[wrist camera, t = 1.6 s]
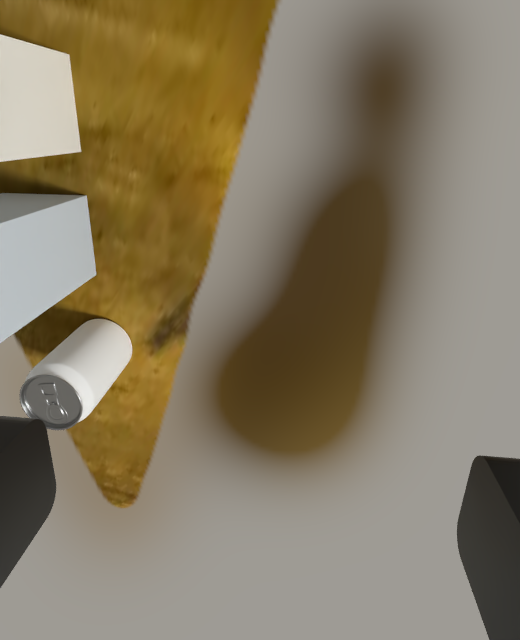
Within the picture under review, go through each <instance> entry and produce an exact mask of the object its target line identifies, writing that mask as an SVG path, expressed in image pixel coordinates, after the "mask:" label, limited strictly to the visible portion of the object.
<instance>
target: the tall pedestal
mask: <svg viewBox="0 0 520 640" xmlns="http://www.w3.org/2000/svg"><path fill="white" fill-rule="evenodd" d="M75 152H81V146H80V138H79V130H78V122H77V114H76V106H75V98H74V90H73V82H72V74H71V66H70V58H69V54H65V53H62V52H59V51H55V50H52V49H48V48H45V47H42V46H38V45H35V44H31V43H28V42H24V41H21V40H18V39H14V38H11V37H7V36H4V35H1V34H0V162H2V161H10V160H18V159H26V158H34V157H43V156H51V155H59V154H67V153H75Z"/></svg>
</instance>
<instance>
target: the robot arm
mask: <svg viewBox="0 0 520 640" xmlns="http://www.w3.org/2000/svg"><path fill="white" fill-rule="evenodd" d="M55 493H56V480H55V474H54V468H53V463H52V457H51V452H50V446H49V440H48V435H47V429H46V426H45V424H44V422H43V421H42V420H40V419H32V418H20V417H6V416H0V588H1V586H2V585H3V583H4V582H5V580H6V579H7V577H8V576H9V574H10V573H11V571H12V570H13V568H14V567H15V565H16V564H17V562H18V561H19V559H20V558H21V556H22V555H23V553H24V552H25V550H26V549H27V547H28V546H29V544H30V543H31V541H32V540H33V538H34V537H35V535H36V534H37V532H38V531H39V529H40V528H41V526H42V525H43V523H44V522H45V520H46V518H47V517H48V515H49V513H50V511H51V509H52V506H53V503H54V499H55ZM457 541H458V549H459V553H460V557H461V560H462V563H463V566H464V569H465V572H466V575H467V577H468V580H469V583H470V586H471V588H472V592H473V594H474V597H475V600H476V603H477V606H478V609H479V611H480V614H481V617H482V620H483V623H484V625H485V628H486V631H487V634H488V637H489V640H520V459H516V458H503V457H491V456H477V457H476V458H475V459H474V461H473V463H472V467H471V470H470V474H469V478H468V482H467V486H466V490H465V494H464V498H463V502H462V506H461V510H460V514H459V519H458V525H457Z"/></svg>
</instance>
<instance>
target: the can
mask: <svg viewBox="0 0 520 640" xmlns="http://www.w3.org/2000/svg"><path fill="white" fill-rule="evenodd" d="M131 355H132V344H131V341H130V338H129V336H128V335H127V333H126V332H125V331H124V330H123V329H122V328H121V327H120V326H119V325H117V324H116V323H114V322H112V321H109V320H105V319H92V320H89V321H87V322H85V323H84V324H82V325H81V326H80V327H79V328H77V329H76V330H75V331H74V332H73V333H72V334H71V335H69V336H68V337H67V338H66V339H65V340H64V341H63V342H62V343H60V344H59V345H58V346H57V347H56V348H55V349H54V350H53V351H51V352H50V353H49V354H48V355H47V356H46V357H45V358H44V359H43V360H41V361H40V362H39V363H38V364H37V365H36V366H35V367H34V368H33V369H32V370H31V371H30V373H29V374H28V375H27V378H26V380H25V383H24V384H23V385H22V387H21V390H20V403H21V406H22V408H23V410H24V412H25V413H26V415H27V416H28V417H29V418H32V419H40V420H42V421H43V422H44V424H45V426H46V428H47V429H51V430H65V429H68V428H71V427H72V426H74V425H75V424H76V423H77V422H79V421H81V420H83V419H85V418H86V417H87V416H88V415H89V414H90V413H91V412H92V410H93V409H94V408H95V406H96V405H97V404H98V403H99V401H100V400H101V399H102V397H103V396H104V395H105V393H106V392H107V391H108V389H109V388H110V387H111V385H112V384H113V383H114V381H115V380H116V379H117V377H118V376H119V375H120V373H121V372H122V371H123V369H124V368H125V366H126V365H127V364H128V362H129V360H130V358H131Z"/></svg>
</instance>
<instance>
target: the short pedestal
mask: <svg viewBox="0 0 520 640" xmlns="http://www.w3.org/2000/svg"><path fill="white" fill-rule="evenodd" d="M95 275H96V267H95V259H94V251H93V243H92V235H91V227H90V219H89V211H88V203H87V195H54V194H19V193H1V194H0V343H1V342H3V341H4V340H5V339H7V338H8V337H10V336H11V335H12V334H14V333H15V332H17V331H18V330H19V329H21V328H22V327H24V326H25V325H26V324H28V323H29V322H31V321H32V320H33V319H35V318H36V317H38V316H39V315H40V314H42V313H43V312H45V311H46V310H47V309H49V308H50V307H52V306H53V305H54V304H56V303H57V302H59V301H60V300H61V299H63V298H64V297H66V296H67V295H68V294H70V293H71V292H73V291H74V290H75V289H77V288H78V287H80V286H81V285H82V284H84V283H85V282H87V281H88V280H89V279H91V278H92V277H94V276H95Z"/></svg>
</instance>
